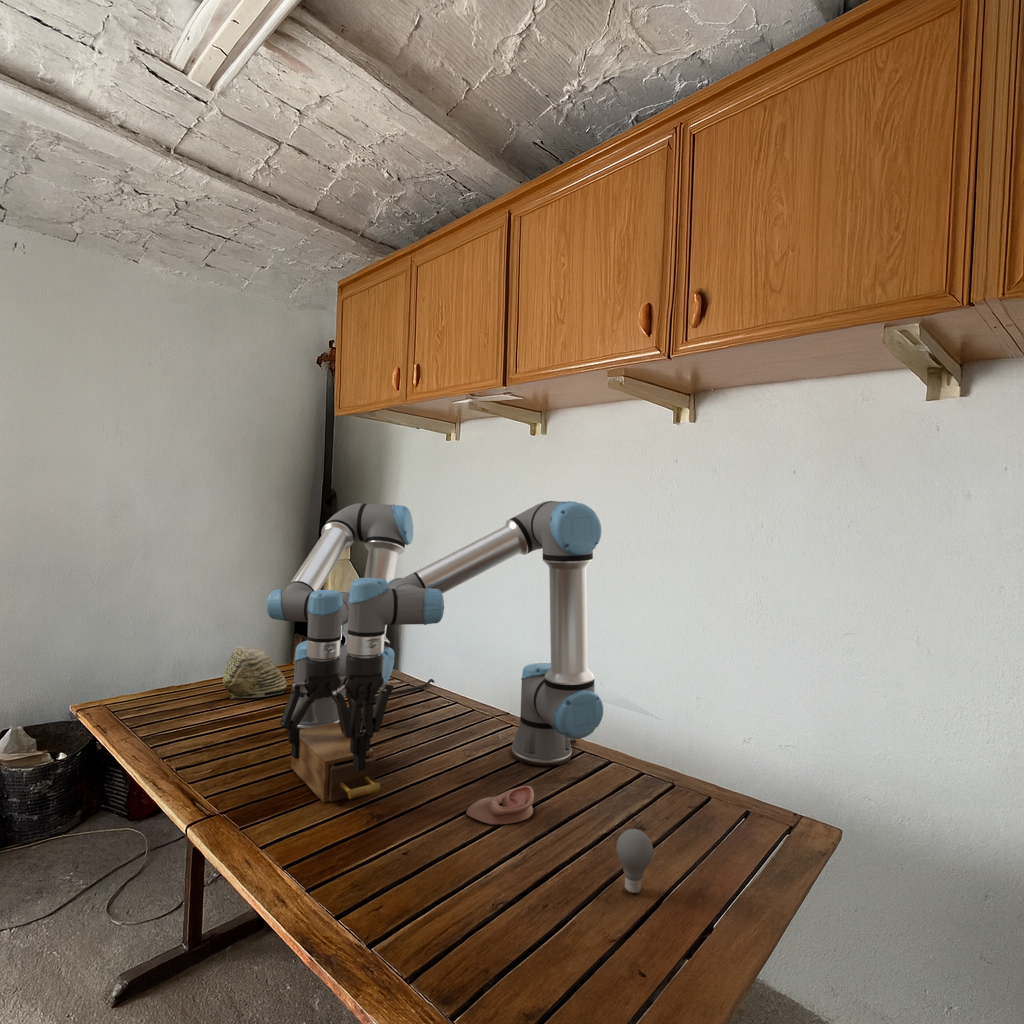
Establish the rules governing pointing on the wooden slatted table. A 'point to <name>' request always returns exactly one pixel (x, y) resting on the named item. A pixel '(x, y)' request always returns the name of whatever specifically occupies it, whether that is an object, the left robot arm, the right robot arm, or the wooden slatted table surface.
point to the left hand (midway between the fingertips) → (319, 751)
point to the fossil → (252, 674)
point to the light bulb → (634, 857)
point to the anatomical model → (504, 807)
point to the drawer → (351, 780)
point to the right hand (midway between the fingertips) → (359, 767)
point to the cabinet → (321, 756)
